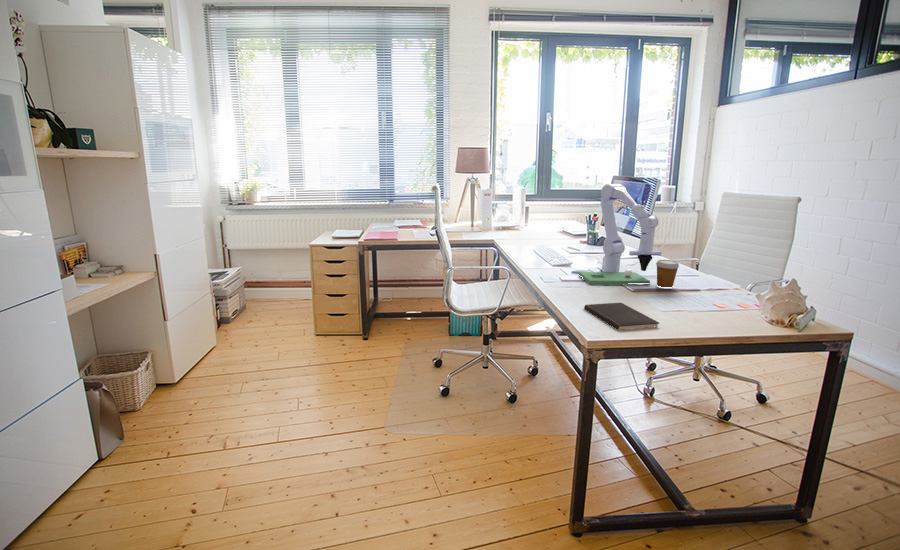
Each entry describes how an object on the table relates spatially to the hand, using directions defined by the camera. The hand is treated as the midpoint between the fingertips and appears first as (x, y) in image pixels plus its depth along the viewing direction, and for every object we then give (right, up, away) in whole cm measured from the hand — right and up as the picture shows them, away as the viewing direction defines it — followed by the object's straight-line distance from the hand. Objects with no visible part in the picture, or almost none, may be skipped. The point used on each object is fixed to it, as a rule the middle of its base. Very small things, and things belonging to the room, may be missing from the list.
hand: (643, 270), depth 225 cm
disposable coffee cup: (+6, -8, -10) cm, 14 cm away
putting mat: (-14, -5, +1) cm, 15 cm away
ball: (-7, -1, 0) cm, 7 cm away
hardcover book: (-29, -19, -50) cm, 61 cm away
